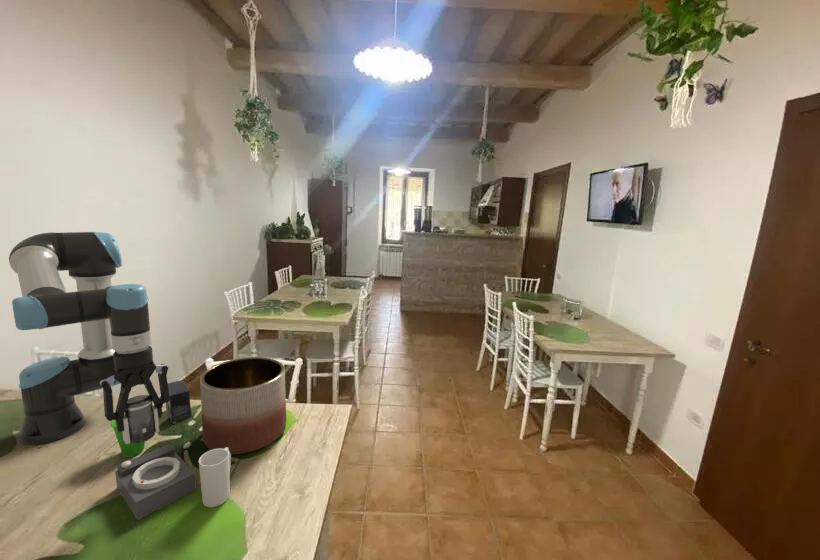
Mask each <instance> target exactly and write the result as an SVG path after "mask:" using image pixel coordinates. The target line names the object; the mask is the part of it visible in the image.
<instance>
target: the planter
mask: <svg viewBox="0 0 820 560" xmlns="http://www.w3.org/2000/svg"><path fill="white" fill-rule="evenodd" d="M285 372H286V369H285V365H284V364H283V363H282V362H280V361H278V360H276V359H275V358H274V359H273V358H269V357H261V356H260V357H259V356H257V357H256V356H253V357H252V356H251V357H242V358H240V357H239V358H235V359H230V360H226V361H223V362H220V363H218V364H217V363H216V364H215V365H213V366H211V367H209V368H207V369H206V370H205V371H203V373H202V374H201V375H200V379H199V383H200V385H199V387H200V403H201V407H200V408H201V426H202V427H201V429H202V440H203V442H204V445H205V447H206V448H208V449H209V451H210V450H213V449H224V448H225V447H228V449H229V451H230V454H231V455H241V454H247V453H252V452H254V451H258V450H260V449H262V448H264V447H266V446H269V445H270V444H272V443H273V442H275V441H276V440H277V439H278V438H280V437H281V435H282V434H283V433H284V432H285V429H286V425H287V403H286V402H287V401H286V400H287V398H286V373H285Z"/></svg>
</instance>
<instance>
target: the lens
mask: <svg viewBox="0 0 820 560" xmlns="http://www.w3.org/2000/svg"><path fill="white" fill-rule="evenodd" d="M152 405H153V401H152V397H151V396H150V395H149V394H140V395H139V394H138V395H134V396H133V397H130V398H129V397H128V401H127V405H126V409H125V413H124V414H125V416H126V417H127V418H128V427H129V436H130V443H133V444H136V443H141V442H145V443H146V442H147V441H149V440H151V439H152V438H154V437H155V434H156V433H155V428H154V418H153V407H152Z"/></svg>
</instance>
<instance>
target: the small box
mask: <svg viewBox="0 0 820 560" xmlns="http://www.w3.org/2000/svg"><path fill="white" fill-rule="evenodd" d="M167 383H168V382H167ZM168 390H169V397H170V401H169V402H167V403H165V409H166V413H167V414H168V417H169V419H170V421H171V423H175V422H178V421H182V420H186V419H189V418H191V417H192V408H191V399H190V389H189V388H188V386H187V384H186V383H185V381H184V379H181V380H176V381H172V382H169V383H168ZM188 417H189V418H188Z"/></svg>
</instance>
